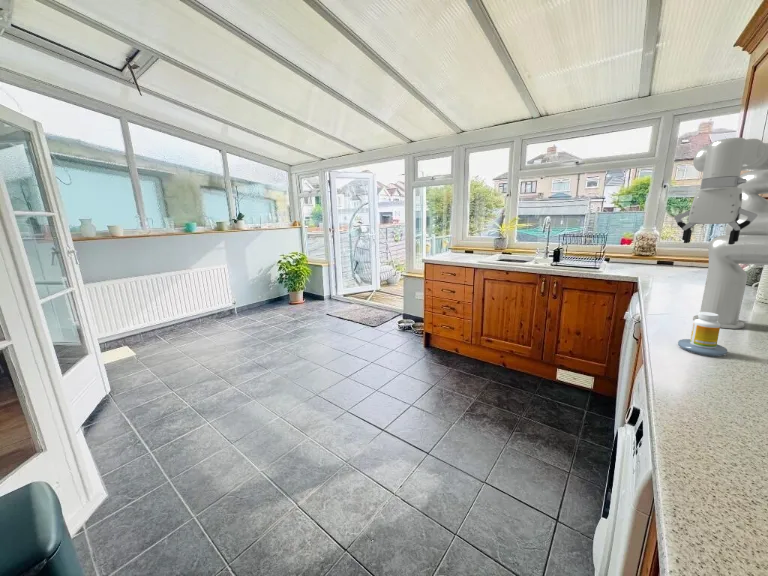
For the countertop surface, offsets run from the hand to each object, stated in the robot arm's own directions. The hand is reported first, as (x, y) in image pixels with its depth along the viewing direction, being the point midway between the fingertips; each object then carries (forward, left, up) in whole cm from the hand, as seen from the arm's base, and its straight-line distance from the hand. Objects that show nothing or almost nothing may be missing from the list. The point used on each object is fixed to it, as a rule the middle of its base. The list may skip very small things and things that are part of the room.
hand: (708, 243), depth 93 cm
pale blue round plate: (+11, +5, -30) cm, 33 cm away
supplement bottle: (+11, +5, -29) cm, 31 cm away
